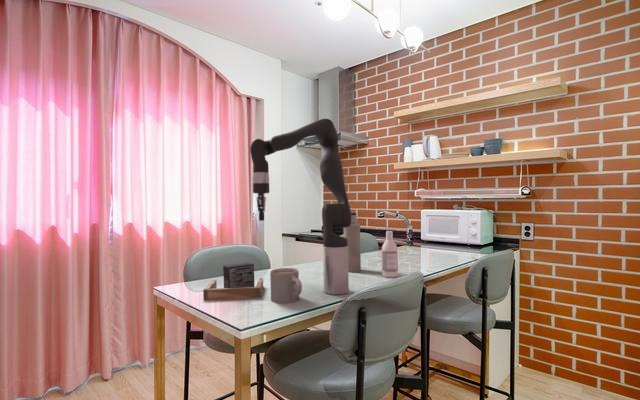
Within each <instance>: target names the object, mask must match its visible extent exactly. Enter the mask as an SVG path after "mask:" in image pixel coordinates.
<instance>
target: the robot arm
mask: <svg viewBox="0 0 640 400" xmlns="http://www.w3.org/2000/svg"><path fill="white" fill-rule="evenodd" d="M313 136H315V137H316V139H317V141H318V143H319V146H320V149H321V150H320V151H321V160H320V162H319V172H320V179H321V181H322V183H323V184H324V185H325V187H326V188H327V189H328V190H329V191H330V192H331V193H332V194H333V196H334V197H335V198H336V199H335V200H336V202H337V203H325V204H324V205H322V209H321V220H322V221H321V222H322V237H323V238H322V239H323V241H322V242H323V243H322V244H323V245H322V246H323V248H322V249H323V284H324V285H323V287H324V289H323V292H325V293H326V294H329V295H333V296H335V295H344V294H349V292H350V291H349V290H350V287H349V286H350V285H349V283H350V282H349V280H350V279H349V272H348V240H347V239H346V238H345V237H344V236H341V235H338V234H336V233H335V232H333V229H344V228H346V227H349V226H350V225H351V219H352V217H351V213H352V210H351V207H350V203H349V198H348V195H347V189H346V184H345V176H344V169H343V164H342V161H341V160H342V159H341V156H340V153H339V141H338V140H339V137H338V136H339V135H338V132H337V129H336V127H335V125H334V122H333V121H332V120H331V119H329V118H320V119H318V120H315V121H314V122H311V123H309V124H306V125H304V126H302V127H299V128H297V129H295V130H292V131H289V132H286V133H281V134H277V135H274V136H272V137H270V139H268V140H263V139H261V138H255V139H253V140H252V141H251V143H250V147H249V148H250V149H249V152H250V155H251V156H250V157H251V161H252V193H253V194H257V197H256V203H257V204H256V205H257V212H258V219H259V220H258V221H260V222H261V221H263V222H264V220H265V211H266V202H267V197H265V194H270V174H269V173H270V172H269V171H270V170H269V169H270V168H269V162H268V161H267V160H266V156H269V155H272V154H275V153H276V152H280V151H284V150H288V149H292V148H294V147H295V146H297V145H298V144H299V143H300V142H301V141H302V140H304V139H307V138H309V137H313Z"/></svg>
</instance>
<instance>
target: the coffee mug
mask: <svg viewBox="0 0 640 400" xmlns="http://www.w3.org/2000/svg"><path fill="white" fill-rule="evenodd" d="M269 274H270V301H271V302H273V303H276V304H277V303H278V304H287V303H293V302H296V301H298V300H299V299H300V295H301V293H302V290H303V285H302V281H301V279H300V278H299V276H300V275H299V269H298V268H292V267H279V268H275V269H271V270H270V272H269Z"/></svg>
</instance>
